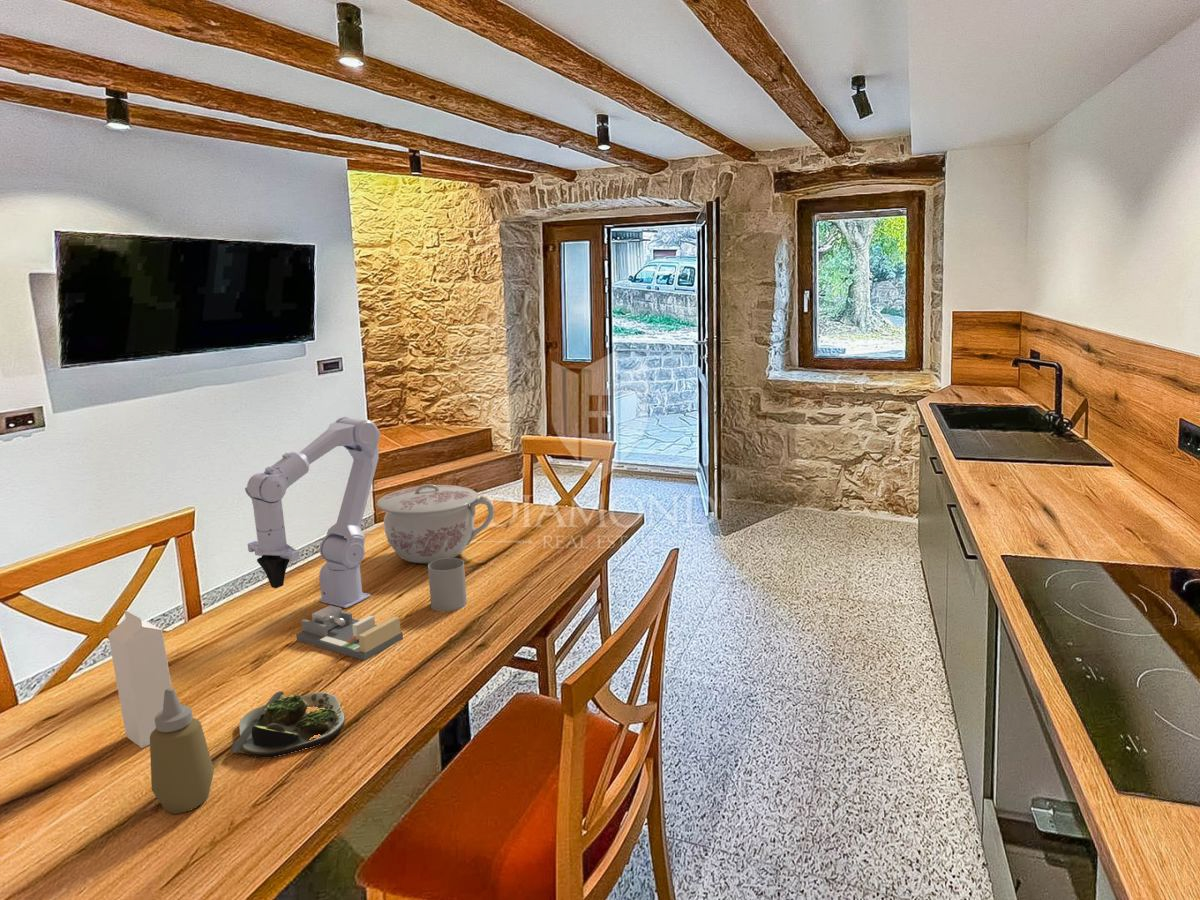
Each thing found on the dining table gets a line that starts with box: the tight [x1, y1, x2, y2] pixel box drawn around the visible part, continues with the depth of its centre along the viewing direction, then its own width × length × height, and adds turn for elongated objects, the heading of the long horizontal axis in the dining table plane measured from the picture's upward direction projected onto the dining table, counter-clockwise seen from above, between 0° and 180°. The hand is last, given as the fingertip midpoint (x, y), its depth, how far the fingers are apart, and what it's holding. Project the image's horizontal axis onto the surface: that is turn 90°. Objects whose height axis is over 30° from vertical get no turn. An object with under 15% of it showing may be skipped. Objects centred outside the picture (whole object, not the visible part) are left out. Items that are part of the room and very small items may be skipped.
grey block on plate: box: [311, 604, 346, 630], centre depth 165 cm, size 6×5×4 cm
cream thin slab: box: [347, 615, 376, 643], centre depth 159 cm, size 1×7×3 cm, turn 151°
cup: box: [427, 557, 468, 612], centre depth 179 cm, size 8×8×10 cm
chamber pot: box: [376, 483, 495, 565], centre depth 211 cm, size 28×28×21 cm
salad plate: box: [230, 691, 346, 758], centre depth 131 cm, size 19×18×5 cm
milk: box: [108, 610, 172, 749], centre depth 127 cm, size 6×6×22 cm
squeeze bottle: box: [149, 688, 215, 814], centre depth 110 cm, size 8×8×18 cm
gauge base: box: [295, 610, 404, 662], centre depth 163 cm, size 20×11×5 cm, turn 61°
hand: (277, 586), depth 169 cm, fingers closed
